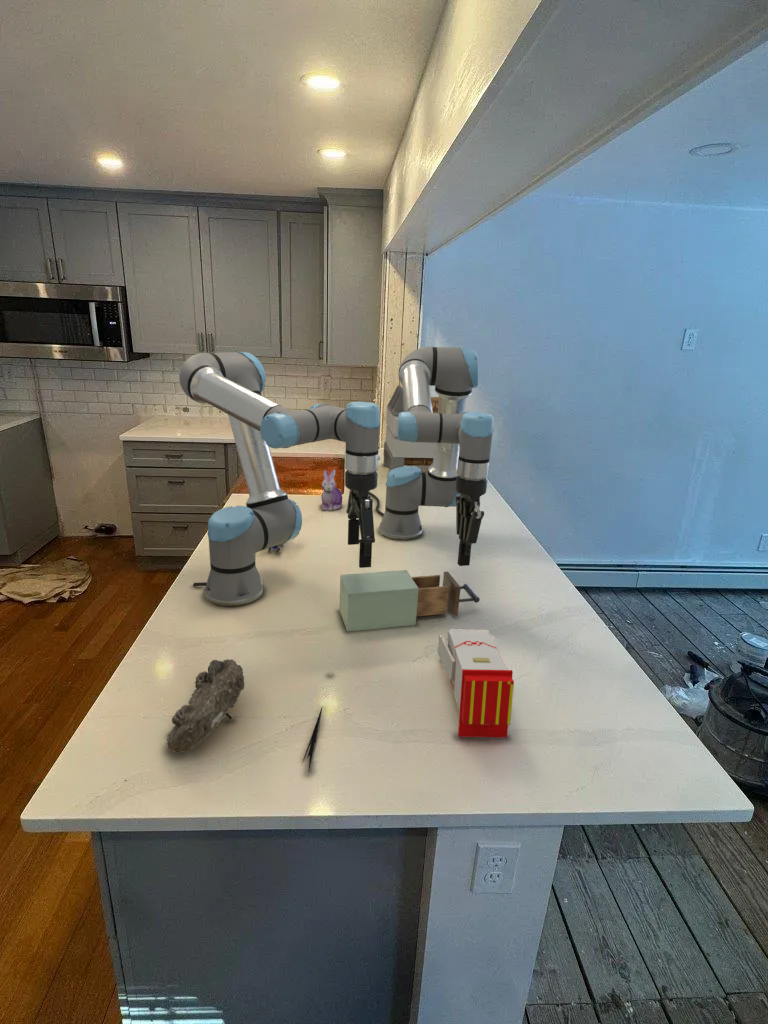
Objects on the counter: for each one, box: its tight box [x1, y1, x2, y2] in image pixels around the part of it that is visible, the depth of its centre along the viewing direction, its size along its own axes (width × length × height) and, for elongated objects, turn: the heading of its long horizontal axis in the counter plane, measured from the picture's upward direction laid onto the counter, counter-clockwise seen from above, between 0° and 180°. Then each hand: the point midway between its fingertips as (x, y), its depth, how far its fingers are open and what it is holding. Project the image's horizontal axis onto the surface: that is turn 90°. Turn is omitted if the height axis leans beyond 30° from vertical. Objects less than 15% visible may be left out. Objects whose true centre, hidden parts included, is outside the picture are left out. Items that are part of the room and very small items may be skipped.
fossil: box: [166, 658, 245, 754], centre depth 106 cm, size 22×10×15 cm
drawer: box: [411, 571, 481, 617], centre depth 147 cm, size 22×9×8 cm, turn 105°
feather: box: [301, 673, 332, 771], centre depth 108 cm, size 2×28×2 cm
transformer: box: [383, 384, 439, 472], centre depth 268 cm, size 34×33×41 cm
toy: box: [437, 628, 515, 738], centre depth 117 cm, size 12×13×30 cm
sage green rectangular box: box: [339, 569, 418, 633], centre depth 144 cm, size 18×10×10 cm, turn 105°
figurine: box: [320, 469, 343, 511], centre depth 220 cm, size 9×10×15 cm
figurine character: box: [267, 544, 284, 553], centre depth 184 cm, size 7×8×15 cm
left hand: (358, 555), depth 138 cm, fingers open, 13 cm apart
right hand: (463, 564), depth 146 cm, fingers closed
